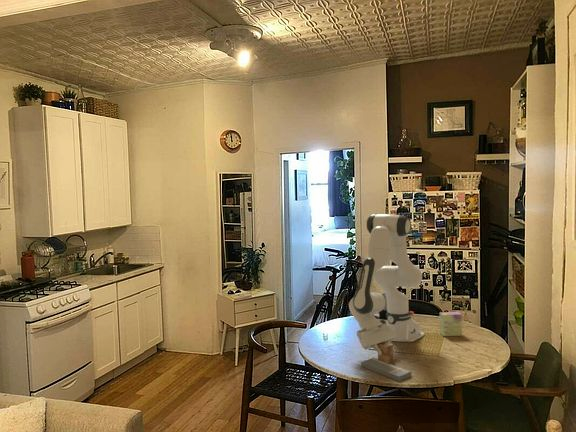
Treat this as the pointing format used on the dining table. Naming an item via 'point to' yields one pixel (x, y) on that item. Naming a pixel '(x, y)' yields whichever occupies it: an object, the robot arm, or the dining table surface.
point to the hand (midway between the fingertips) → (386, 352)
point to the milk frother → (383, 311)
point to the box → (450, 323)
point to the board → (386, 369)
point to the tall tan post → (386, 352)
